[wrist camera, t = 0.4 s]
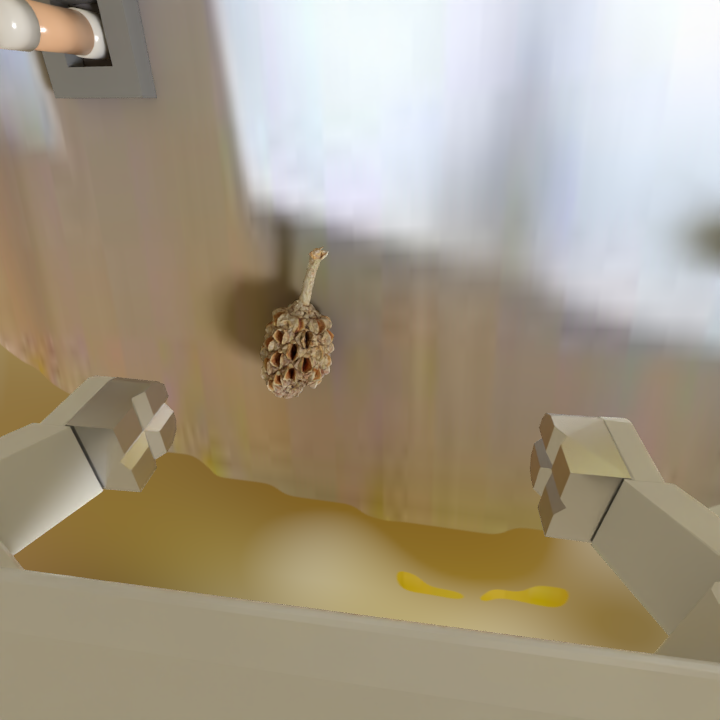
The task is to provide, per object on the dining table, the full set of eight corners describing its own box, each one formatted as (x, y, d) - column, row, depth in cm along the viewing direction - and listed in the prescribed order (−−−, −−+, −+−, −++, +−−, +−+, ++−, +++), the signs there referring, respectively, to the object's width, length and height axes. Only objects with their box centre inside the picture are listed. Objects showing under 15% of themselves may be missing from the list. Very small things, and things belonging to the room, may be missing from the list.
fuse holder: (36, -29, 48) (15, -35, 46) (129, -37, 46) (112, -44, 44) (72, 98, 54) (55, 98, 52) (156, 97, 52) (142, 97, 50)
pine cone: (335, 382, 66) (313, 423, 57) (276, 365, 67) (245, 402, 59) (359, 238, 54) (336, 263, 46) (286, 220, 55) (250, 241, 47)
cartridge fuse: (76, 13, 49) (-41, -13, 39) (109, 11, 48) (-2, -16, 38) (88, 60, 52) (-19, 49, 41) (120, 59, 51) (19, 47, 40)
